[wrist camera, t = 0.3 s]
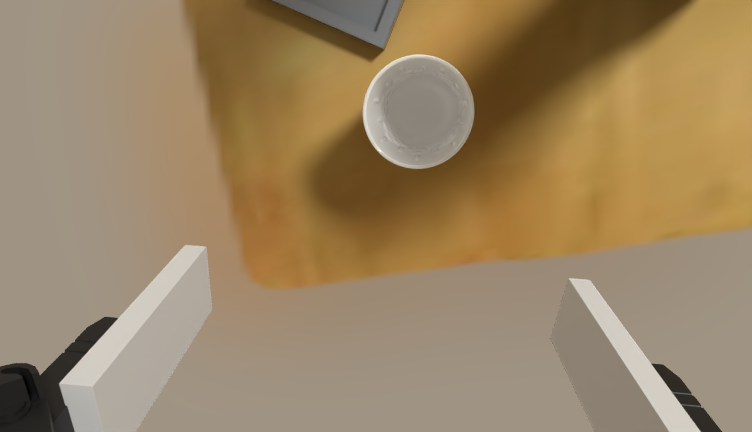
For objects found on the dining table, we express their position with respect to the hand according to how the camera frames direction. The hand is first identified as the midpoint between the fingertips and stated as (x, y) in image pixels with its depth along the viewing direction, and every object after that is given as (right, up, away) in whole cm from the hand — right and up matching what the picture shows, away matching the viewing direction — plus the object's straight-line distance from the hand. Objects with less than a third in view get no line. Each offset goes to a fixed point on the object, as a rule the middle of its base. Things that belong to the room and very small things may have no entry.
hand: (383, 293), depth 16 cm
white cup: (+4, +13, +25) cm, 28 cm away
